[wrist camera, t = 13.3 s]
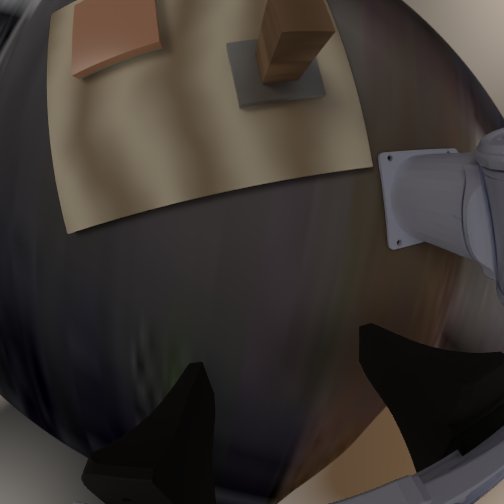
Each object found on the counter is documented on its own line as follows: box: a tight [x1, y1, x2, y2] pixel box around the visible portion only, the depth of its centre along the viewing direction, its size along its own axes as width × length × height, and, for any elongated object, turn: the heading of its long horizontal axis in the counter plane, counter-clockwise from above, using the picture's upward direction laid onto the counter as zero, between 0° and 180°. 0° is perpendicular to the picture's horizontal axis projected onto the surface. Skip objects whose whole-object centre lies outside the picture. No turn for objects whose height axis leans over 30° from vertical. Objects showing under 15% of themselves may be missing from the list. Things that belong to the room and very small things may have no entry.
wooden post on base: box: [226, 0, 336, 108], centre depth 13 cm, size 6×5×8 cm
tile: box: [72, 0, 163, 79], centre depth 14 cm, size 7×2×8 cm
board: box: [47, 0, 373, 234], centre depth 17 cm, size 24×22×1 cm
